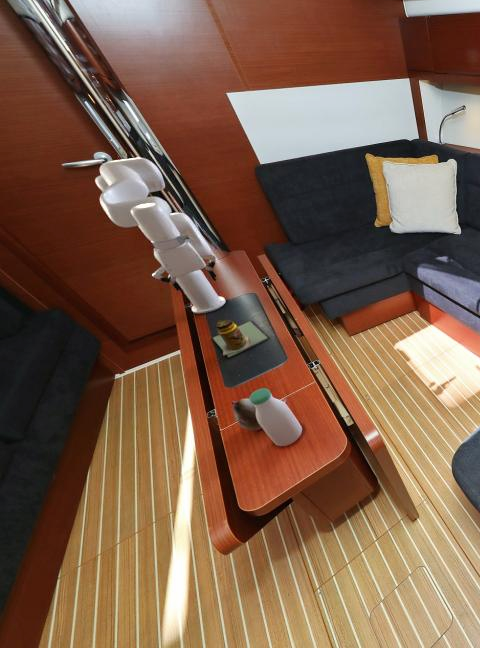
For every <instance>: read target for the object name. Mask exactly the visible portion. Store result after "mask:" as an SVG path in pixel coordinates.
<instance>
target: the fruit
mask: <svg viewBox="0 0 480 648" xmlns="http://www.w3.org/2000/svg"><path fill="white" fill-rule="evenodd" d="M230 403H231V405H233V407H232V411H233V413H234V419H235V422H236V423H237V424H238V425H239V426H240V427H242V428H243V429H245V430H247V431H251V432H252V431H259V430H261V429H263V428H262V427H261V426H260V424H259V423H258V421H257V418H256V406H254V405H253V404H252V403H251V401H250V398H242V399H239V400H238V401H234V400H231V401H230Z"/></svg>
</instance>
